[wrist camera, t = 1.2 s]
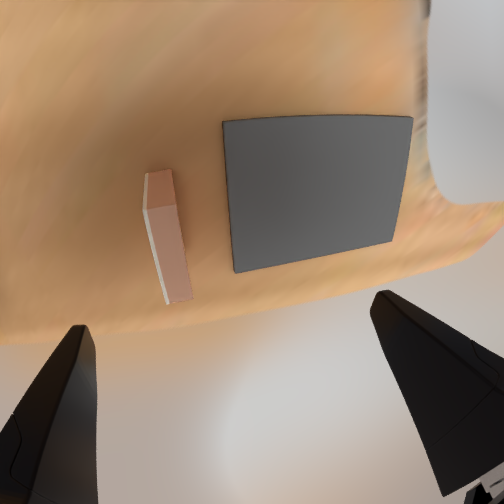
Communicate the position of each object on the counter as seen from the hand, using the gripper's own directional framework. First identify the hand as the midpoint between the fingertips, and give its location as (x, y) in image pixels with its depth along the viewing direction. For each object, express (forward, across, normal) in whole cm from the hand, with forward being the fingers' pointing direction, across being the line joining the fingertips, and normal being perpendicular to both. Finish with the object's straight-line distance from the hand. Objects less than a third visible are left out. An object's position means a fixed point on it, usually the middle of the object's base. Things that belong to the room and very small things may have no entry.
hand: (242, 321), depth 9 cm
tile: (+12, +2, +3) cm, 13 cm away
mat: (+13, -9, +2) cm, 16 cm away
